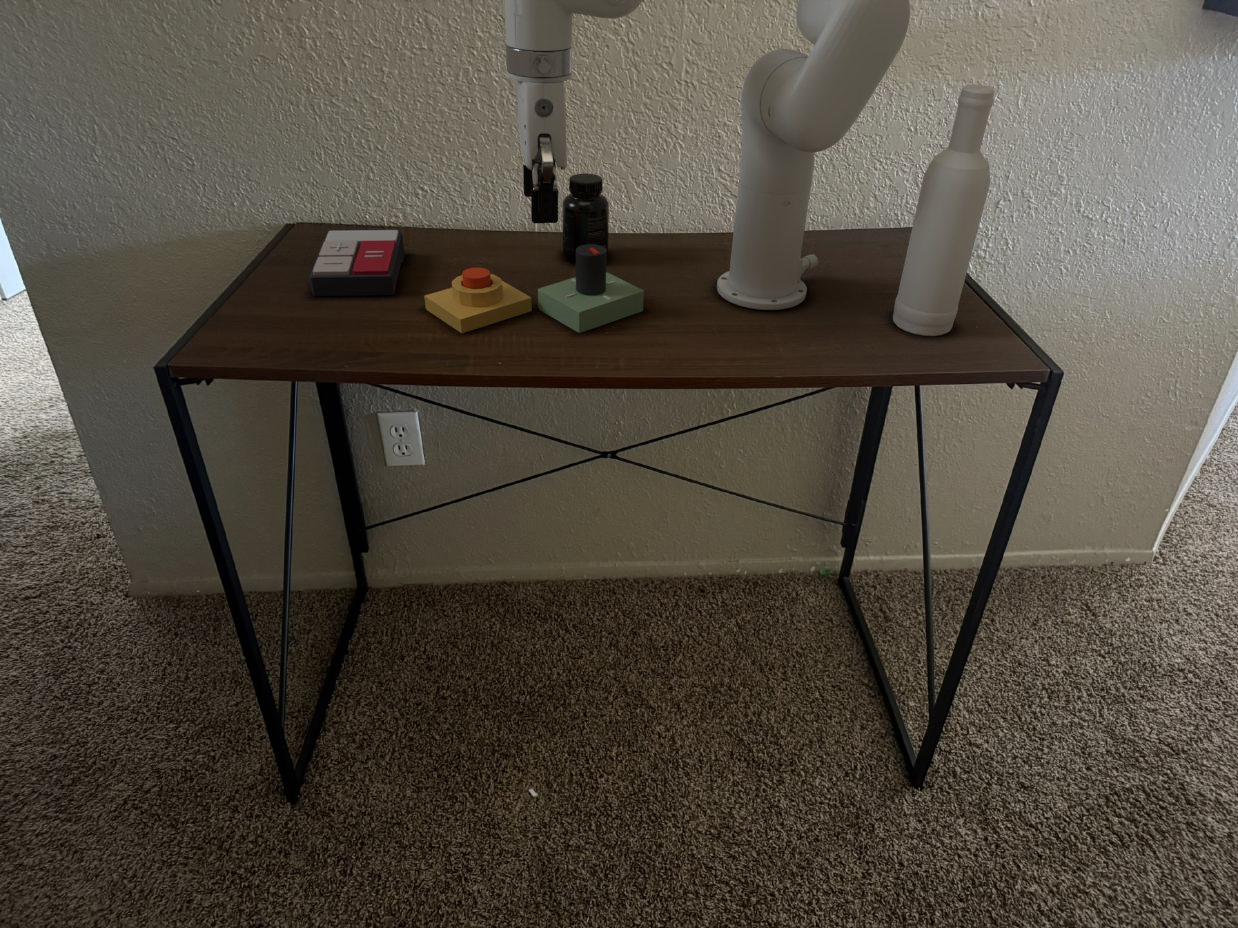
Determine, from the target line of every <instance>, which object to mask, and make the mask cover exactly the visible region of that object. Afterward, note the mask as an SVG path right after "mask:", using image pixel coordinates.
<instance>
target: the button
mask: <svg viewBox="0 0 1238 928" xmlns="http://www.w3.org/2000/svg"><path fill="white" fill-rule="evenodd" d="M461 273H462V274H461V275H463V286H464V287H465V288H470V289H483V288H486V287H490V286H491V278H490V274H491V271H490V270H489V269H488V268H484V267H470V268H466V269H464V270H463V271H462V272H461Z"/></svg>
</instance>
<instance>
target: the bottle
mask: <svg viewBox="0 0 1238 928" xmlns="http://www.w3.org/2000/svg"><path fill="white" fill-rule="evenodd" d="M995 94H996V93H995V89H994V88H993V87H991V86H989V85H983V84H975V83H974V84H965V85H964V86H963V87H962V88H961V92H960V94H959V96H958V97H957V98H958V99H957V109H956V113H955V118H954V121H953V126H952V130H951V134H950V138H949V144H948V146H947V147H946V148H944V149H943V150H942V151H941V152H939V153H937V154H936V155H935V156H934V157H933V158H932V159H931V161H930V163H929V164H928V166H927V168H926V169H925V172H924V174H923V178H922V183H921V187H920V192H919V195H918V200H917V205H916V209H915V213H914V219H913V223H912V228H911V232H910V235H909V236H910V237H909V241H908V246H907V251H906V254H905V259H904V264H903V268H902V269H903V270H902V271H901V272H902V273H901V276H900V277H901V278H900V281H899V287H898V291H897V296H896V297H895V301H894V305H893V314H892V322H893V323H894V324H895V325H896V326H897V328H899V329H901V330H902V331H904V332H907V333H911V334H913V335H916V336H917V335H918V336H923V337H937V336H943V335H945V334H947V333H950V331H951V330H952V329H953V327H954V326H953V325H954V322H955V320H956V317H957V313H958V311H959V303H960V299H961V297H962V293H963V288H964V285H965V280H966V277H967V273H968V269H969V266H970V261H971V258H972V254H973V250H974V246H975V242H976V240H977V235H978V231H979V227H980V224H981V220H982V215H983V212H984V208H985V204H986V201H987V197H988V193H989V190H990V186H991V170H990V164H989V162H988V160H987V159H986V157H985V156H984V155H983V153H982V152H981V148H982V144H983V140H984V137H985V132H986V130H987V129H986V128H987V125H988V121H989V116H990V112H991V109H992V107H993V106H994V102H995V100H994V97H995Z"/></svg>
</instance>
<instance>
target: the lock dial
mask: <svg viewBox="0 0 1238 928" xmlns="http://www.w3.org/2000/svg"><path fill="white" fill-rule="evenodd" d="M606 257H607V258H608V256H607V250H606V248H605V247H603V246H600V245H595V244H587V245H581V246H579V247H577V248H576V264H575V277H576V291H577V292H579V293H581V294H584V295H599V294H602V293H604V292H605V290H606V272H607V258H606Z"/></svg>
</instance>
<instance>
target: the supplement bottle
mask: <svg viewBox="0 0 1238 928" xmlns="http://www.w3.org/2000/svg"><path fill="white" fill-rule="evenodd" d="M568 192H569V193H568V194H567V195H566V196H565V197H564V199H563V201H562V255H563V259H565V260H566V261H567V262H569V263H571V264H574V265H576V248H577V247H579V246H581V245H587V244H595V245H600V246H603V247H605V248H606V250H607V257H606V259H608V255H609V230H610V229H609V228H610V227H609V224H610V223H609V222H610V203H609V200H608V198H607V197H606V196H605V195H604V194H602V193H603V192H604V188H603V177H602V176H600V175H598V174H595V173H585V172H584V173H576V174H572V175H570V177H569V178H568Z"/></svg>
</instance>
